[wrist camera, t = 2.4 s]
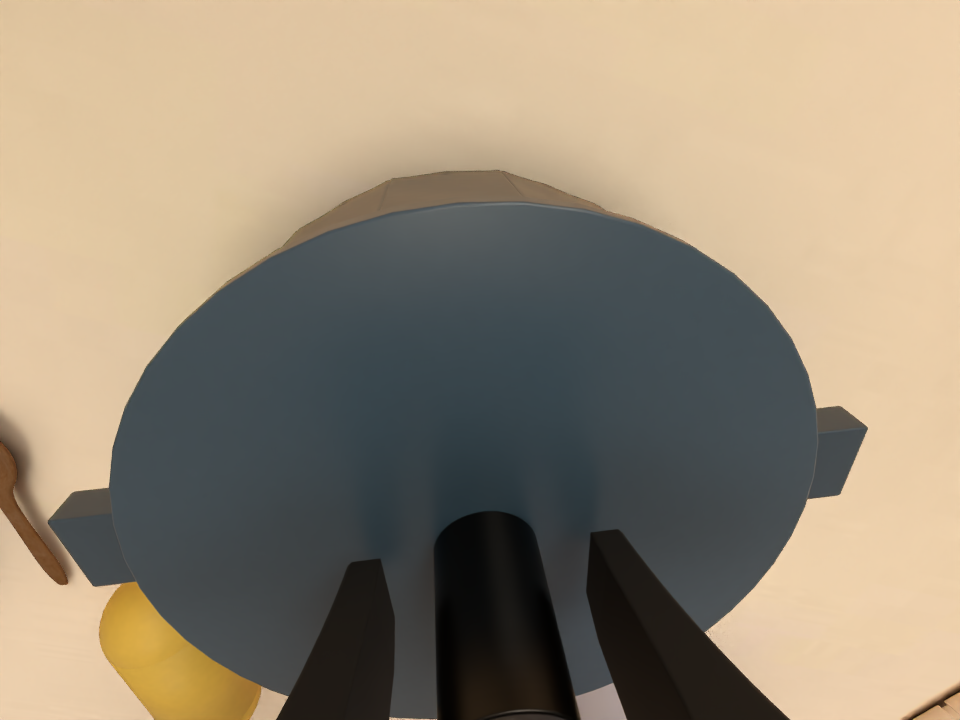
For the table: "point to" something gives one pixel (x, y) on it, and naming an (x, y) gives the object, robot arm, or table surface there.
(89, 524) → the pot
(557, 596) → the pot lid
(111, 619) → the yellow rounded capsule
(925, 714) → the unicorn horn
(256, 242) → the table surface
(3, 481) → the place setting
